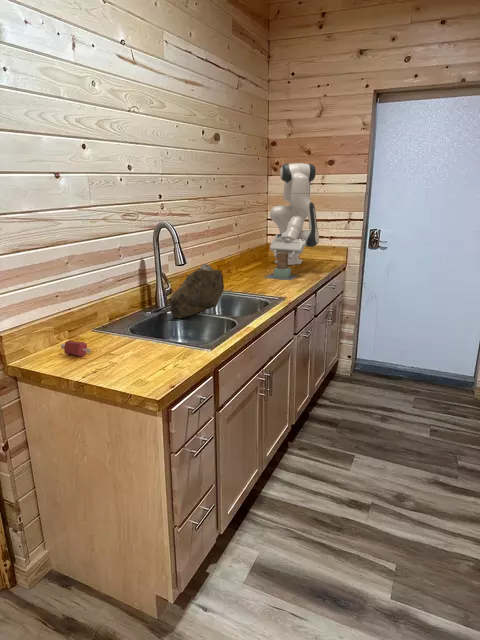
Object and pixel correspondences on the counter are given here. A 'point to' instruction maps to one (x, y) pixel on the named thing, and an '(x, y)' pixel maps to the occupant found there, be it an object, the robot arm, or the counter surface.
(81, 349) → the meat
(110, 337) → the counter surface
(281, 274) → the sage brick
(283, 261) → the walnut block
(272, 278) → the mat
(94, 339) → the counter surface
